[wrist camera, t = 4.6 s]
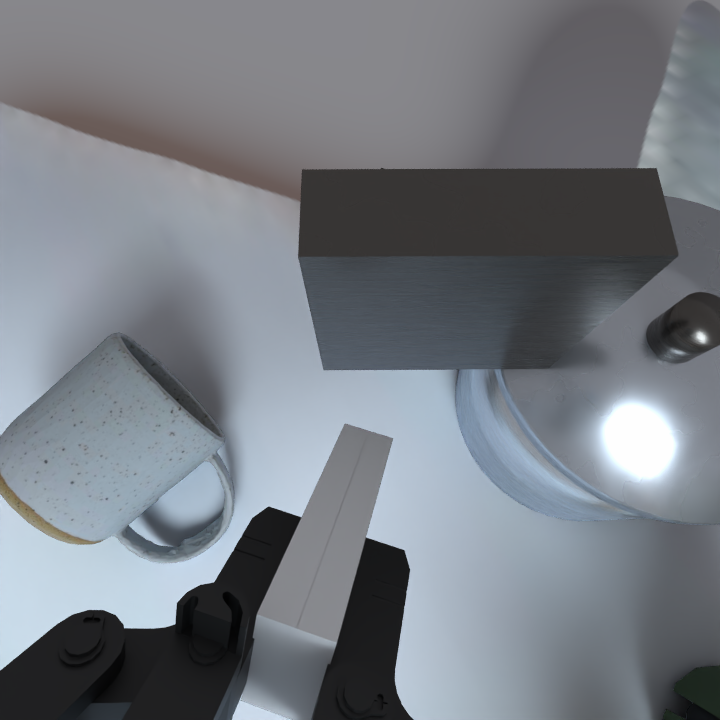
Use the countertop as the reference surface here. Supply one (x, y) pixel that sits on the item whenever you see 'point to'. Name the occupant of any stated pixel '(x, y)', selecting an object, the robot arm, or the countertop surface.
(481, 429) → the pot
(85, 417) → the ceramic mug
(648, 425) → the lid
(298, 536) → the robot arm
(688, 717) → the character mug
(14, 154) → the countertop surface
